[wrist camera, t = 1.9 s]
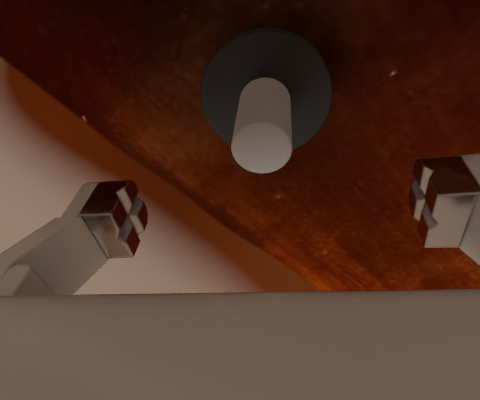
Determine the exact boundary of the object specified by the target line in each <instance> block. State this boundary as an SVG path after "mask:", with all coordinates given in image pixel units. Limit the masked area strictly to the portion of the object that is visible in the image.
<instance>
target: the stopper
mask: <svg viewBox="0 0 480 400" xmlns="http://www.w3.org/2000/svg"><path fill="white" fill-rule="evenodd" d="M200 100H201V106H202V110H203V113H204V115H205V118H206V120H207V122H208V123H209V125H210V126H211V128H212V129H213V131H214V132H215V133H216V134H217V135H218V136H219V137H220V138H221V139H222V140H223V141H225V142H226V143H228V144H229V145H231V151H232V154H233V157H234V158H235V160H236V161H237V163H238V164H239V165H240V166H242V167H243V168H244V169H246V170H248V171H251V172H255V173H270V172H273V171H276V170H278V169H280V168H281V167H283V166H284V165H285V164H286V163H287V161H288V160H289V158H290V156H291V154H292V150H293V149H295V148H297V147H299V146H301V145H302V144H304V143H305V142H307V141H308V140H309V139H311V138H312V137H313V136H314V135H315V134H316V133H317V132H318V130H319V129H320V128H321V126H322V125H323V123H324V121H325V120H326V118H327V115H328V113H329V110H330V106H331V102H332V84H331V79H330V75H329V71H328V68H327V66H326V63H325V61H324V60H323V58H322V56H321V55H320V53H319V52H318V51H317V49H316V48H315V47H314V46H313V45H312V44H311V43H309V42H308V41H307V40H305V39H304V38H303V37H301V36H299V35H297V34H295V33H293V32H290V31H287V30H284V29H279V28H269V27H264V28H255V29H250V30H247V31H244V32H241V33H239V34H237V35H235V36H233V37H231V38H230V39H228V40H227V41H226V42H224V43H223V44H222V45H221V46H220V47H219V48H218V49H217V50H216V52H215V53H214V54H213V55H212V57H211V59H210V60H209V62H208V64H207V67H206V69H205V72H204V74H203V77H202V81H201V88H200Z"/></svg>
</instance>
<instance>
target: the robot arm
mask: <svg viewBox="0 0 480 400" xmlns="http://www.w3.org/2000/svg"><path fill="white" fill-rule="evenodd" d="M413 173H414V176H415V178H416V180H415V181H414V182H413V183H412V184H411V185H410V191H409V205H410V210H411V213H412V216H413V218H415V219H416V220H418V221H419V225H418V232H419V234H420V237H421V239H422V242H423V244H424V247H425V248H437V247H460V249H461V250H462V251H463V252H464V253H465V254H467V255H468V256H469V257H470V258H471V259H473V260H474V261H475V262H476V263H478V264H479V265H480V154H479V153H478V154H468V155H458V156H453V157H440V158H428V159H417V160H416V162H415V164H414V169H413ZM138 191H139V190H138V188H137V186H136V184H135V182H133V181H131V180H125V181H106V182H91V183H86V184H84V185H83V186H82V187H81V189H80V190H79V191H78V193H77V195H76V196H75V197H74V199H73V200H72V202H71V203H70V205H69V206H68V208H67V209H66V211H65V212H64V213H63V215H62V217H61V218H55V219H54V220H52V221H50V222H49V223H47V224H46V225H44V226H43V227H41V228H40V229H38V230H36V231H35V232H33V233H32V234H30V235H29V236H27V237H26V238H24V239H22V240H21V241H19V242H18V243H16V244H15V245H13V246H12V247H10V248H8V249H7V250H5V251H4V252H2V253H1V254H0V400H480V289H469V290H403V291H320V292H247V293H246V292H244V293H178V294H175V293H173V294H106V295H105V294H103V295H102V294H100V295H73V294H74V293H75V292H76V291H77V290H78V289H79V288H80V287H81V286H82V285H83V284H84V283H85V282H86V281H87V280H88V279H89V278H90V277H91V276H92V275H93V274H94V273H95V272H96V271H97V270H98V269H100V268H101V267H102V265H104V263H106V262H107V261H108V259H111V258H128V257H134V255H135V252H136V250H137V247H138V245H139V242H140V240H139V237H138V235H139V234H140V233H142V232H143V231H144V230H145V227H146V224H147V217H148V214H147V209H146V206H145V203H144V201H142V200H141V199H140V198H138V197H137V194H138Z"/></svg>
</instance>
